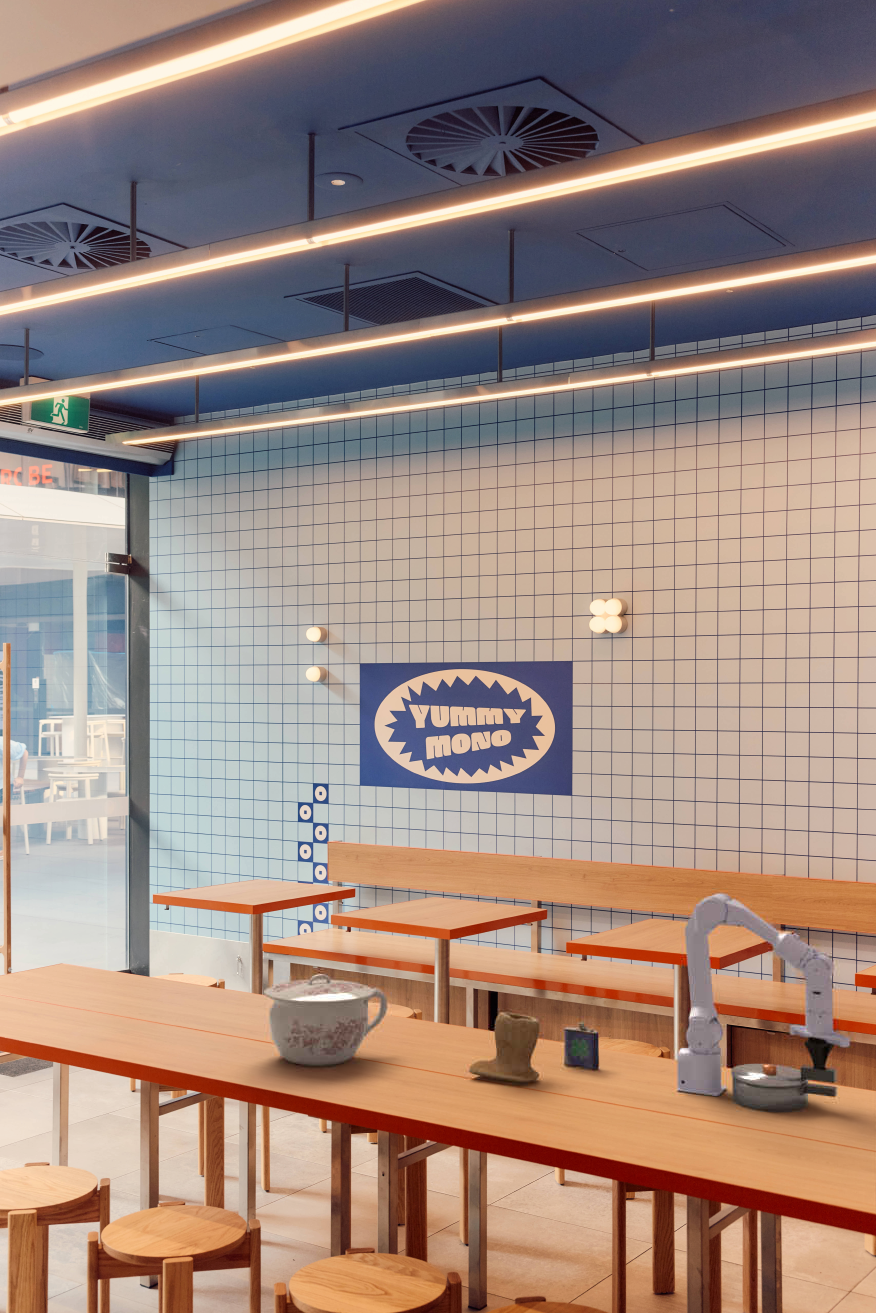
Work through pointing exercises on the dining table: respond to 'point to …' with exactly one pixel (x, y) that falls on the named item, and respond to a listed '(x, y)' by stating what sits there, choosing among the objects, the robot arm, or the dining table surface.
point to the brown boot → (511, 1049)
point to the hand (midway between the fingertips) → (819, 1074)
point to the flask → (581, 1047)
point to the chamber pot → (321, 1019)
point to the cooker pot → (777, 1096)
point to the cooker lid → (781, 1075)
